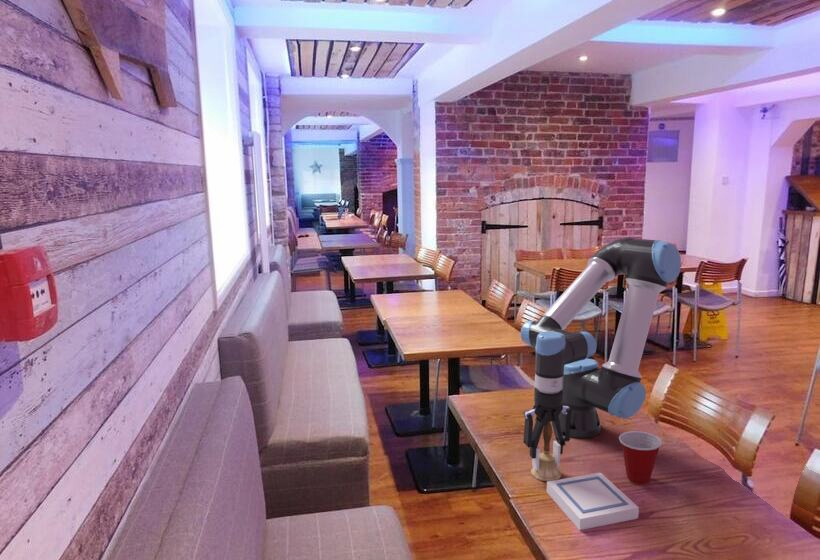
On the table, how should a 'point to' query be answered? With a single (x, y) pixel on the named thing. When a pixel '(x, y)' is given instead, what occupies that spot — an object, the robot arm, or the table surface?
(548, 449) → the hand bell
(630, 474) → the plastic cup
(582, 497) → the display board
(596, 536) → the table surface
